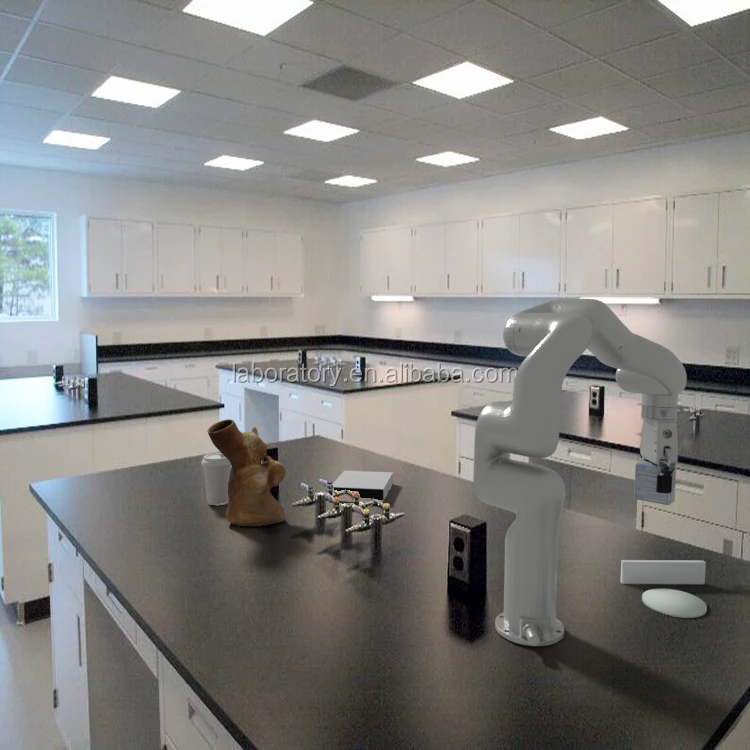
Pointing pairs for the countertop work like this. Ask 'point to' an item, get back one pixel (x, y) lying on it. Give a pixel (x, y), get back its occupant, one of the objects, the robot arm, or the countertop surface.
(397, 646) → the countertop surface
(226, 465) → the coffee cup
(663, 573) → the acrylic wall
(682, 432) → the countertop surface
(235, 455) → the ceramic vessel
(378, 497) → the disc drive
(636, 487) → the medicine box
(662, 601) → the pad
